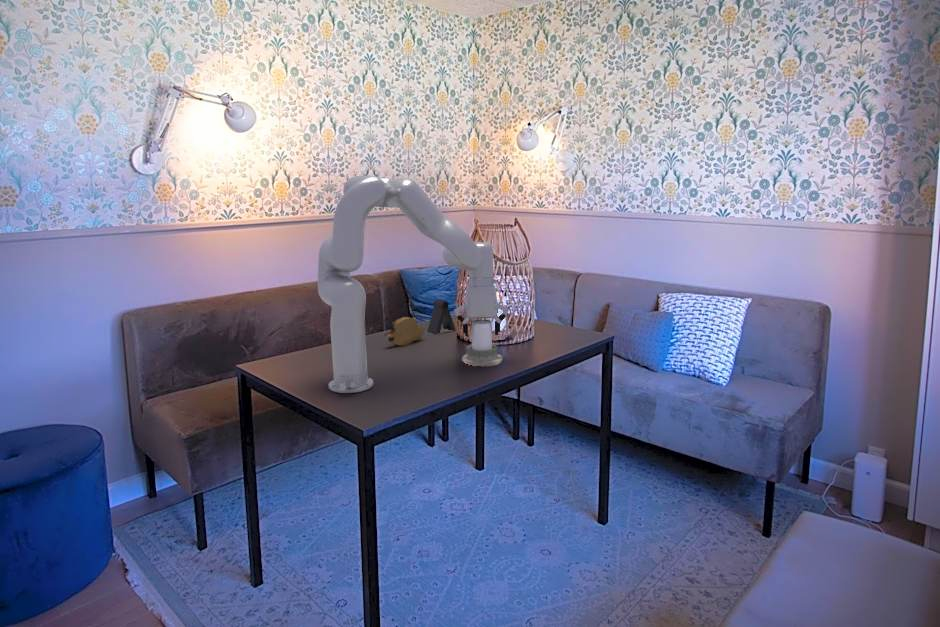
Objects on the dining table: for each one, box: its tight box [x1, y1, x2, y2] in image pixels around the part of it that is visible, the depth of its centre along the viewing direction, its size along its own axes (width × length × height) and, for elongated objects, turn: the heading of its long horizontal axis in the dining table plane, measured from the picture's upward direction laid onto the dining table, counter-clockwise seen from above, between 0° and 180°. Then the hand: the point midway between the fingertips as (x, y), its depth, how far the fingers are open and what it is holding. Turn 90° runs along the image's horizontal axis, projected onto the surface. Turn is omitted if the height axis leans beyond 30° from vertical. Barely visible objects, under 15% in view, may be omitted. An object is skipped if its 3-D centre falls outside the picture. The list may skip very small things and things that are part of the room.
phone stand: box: [427, 299, 456, 334], centre depth 243 cm, size 9×6×12 cm, turn 126°
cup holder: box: [461, 343, 503, 368], centre depth 205 cm, size 13×13×4 cm
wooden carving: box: [384, 316, 425, 347], centre depth 225 cm, size 16×5×10 cm, turn 139°
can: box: [471, 318, 493, 351], centre depth 204 cm, size 6×6×12 cm
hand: (481, 334), depth 203 cm, fingers open, 9 cm apart
